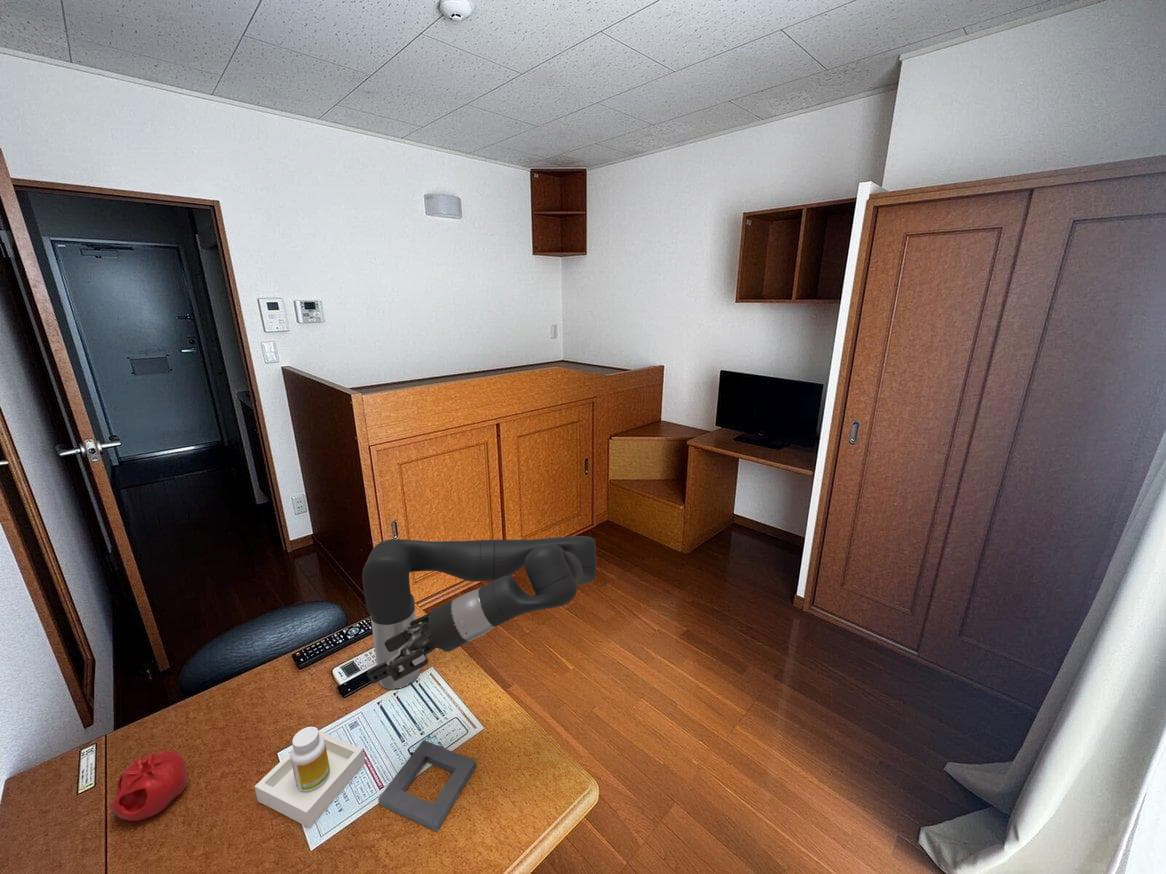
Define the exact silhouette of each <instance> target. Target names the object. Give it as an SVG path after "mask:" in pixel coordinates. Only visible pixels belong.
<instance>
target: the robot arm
mask: <svg viewBox="0 0 1166 874" xmlns="http://www.w3.org/2000/svg"><path fill="white" fill-rule="evenodd" d="M596 546H597V545H596V540H595V539H594V537H591V536H586V535H571V536H559V537H547V538H536V539H535V538H534V539H533V538H532V539H478V540H448V541H447V540H446V541H445V540H444V541H430V540H429V541H428V540H418V539H417V540H416V539H403V538H402V539H401V538H399V539H398V538H393V539H386V540H382V541H380V542H378V543H377V544H376V545H375V546H374V547H373V548H372V549H371V551H370V554H369V556H368V558H367V561H366V562H365V563H364V567H363V569H362V578H361V580H362V586H363V589H362V590H363V594H364V600H365V605H366V609H367V611H368V612H369V613H370V620H371V630H372V637H373V645H374V653H375V654H374V655H375V661H376V666H373V667H372V668H369V669H368V671H367V673H366V676H367V678H368V680H369V681H370V682H371V684H376V683H377V682H378V684H379V685H380V686H381V687H382V688H384V689H387V690H395V689H394V688H400V687H403V686H405V685H407V684H409V683H411V682H412V681H413V680H415V679H416V678H417V679H418V677H419V676H420V673H421V668H423V667H425V666H427V664H428V663H429V659H428V657H427V656H429V655H430V654H431V653H433V651H434V650H436V649H440V650H442V651H443V652H446V653H449V652H452V651H453V650H455V649H457V648H460V647H461V646H464V645H466V644H468V643H469V642H471V641H475V639H477V638H480V637H481V636H483V635H486V634H487V633H488V632H490V631H491V630H493V629H494V628H496V627H498V626H501V625H502V624H504V623H506V622H509V621H510V620H512V619H514V618H517V617H519V616H522V615H525V614H528V613H531V612H537V611H541V610H548V609H554V608H559V607H564V606H565V605H568V604H569V603H570V602H572V600H573V599H574V598H575V596H576V595H577V592H578V586H583V585H587V584H589V583H591V582H593V581H594V580H595V578H596V575H597V547H596ZM523 567H524V570H525V573H526V575H527V577H528V580H529V582H530V584H531V587H532V589H533V591H534V594H535V595H533V594H532V595H531V594H528V593H526V592H525V591H524V590H523V589H522V588H521V586H520V585H519V583H518V582H517V580H516V579H515V578H514V577H513V576H512V575H514V574H515V573H517V572H518V571H519V570H521V569H523ZM415 572H417V573H418V572H439V573H444V574H445V575H446V574H447V575H449V576H453V577H454V578H457V579H460V580H464V581H467V582H474V583H475V582H489V583H487V584H485V585H483V586H480V587H479V588H476V589H474V590H470V591H468V592H465V593H464V594H461V595H460V596H457V597H455V598H453V599H451V600H450V601H447V602H445V603H443V604H442V605H439V606H438V607H435V608H433V609H432V611H430V612H429V613H427V614H424V615H422V616H420V617H418V618H416V605H415V604H416V603H415V596H413V594H412V593H411V587H410V586H411V585H410V584H411V583H410V573H415ZM418 675H419V676H418ZM417 679H416V680H417ZM416 680H415V681H416ZM412 683H413V682H412ZM412 683H411V684H412ZM409 685H410V684H409ZM403 688H404V687H403ZM400 689H401V688H400Z"/></svg>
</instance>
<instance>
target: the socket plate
mask: <svg viewBox="0 0 1166 874" xmlns="http://www.w3.org/2000/svg"><path fill="white" fill-rule="evenodd" d="M426 764H431V765H432V766H435V767H437V768H440V769H442V770H445V771H448V772H450V773H452V774H451V775H450V777H449V779H448V780H447V781H446V784H445V785H444V786H443V788H442V789H441V790H440V792H439V794H438V796H437V798H435V800H434V802H433V803H432V802H430V801H427V800H425V799H422V798H420V797H418V796H417V795H416V796H415V795H413V794H411V793H409V792H406V791H407V789H408V788H409V787H410V785H411V784H412V783H413V781H414V780H415V778H416V777H417V776H418V774H419V773H420V772H421V770H422V769H423V767H424V766H425V765H426ZM476 768H477V760H476V759H473V758H471V757H467V756H465V755H462V754H460V753H457V752H455V751H452V750H450V749H448V748H445V747H442V746H440V745H438V744H435V743H432V742H429V741H428V740H425V739H423V740H422V741H421V742H420V744H418V746H417V747H416V749H415V750H414V751H413V752H412V754H411V755H410V757H409V758H408V759H407V760H406V762H405V763H404V764H403V765H402V767H401V768H400V770H399V771H398V772H397V773H396V775H395V776H394V778H393V779H392V780H391V781H390V782H389V784H388V785H387V787H386V788H385V789H384V790H383V792H382V793H380V796H379V797H378V798H377V799H378V800H377V801H378V806H381V807H383V808H385V809H387V810H389V811H391V812H394V813H395V814H398V815H400V816H402V817H404V818H406V819H409V820H410V821H413V822H415V823H416V824H419V825H421V826H423V827H425V828H427V829H430V830H432V831H434V832H438V830H439V828H440V827H441V825H442V824H443V822H444V820H445V819H446V818H447V816H448V814H449V813H450V811H451V809H452V808H453V806H454V804H455V802H456V801H457V799H458V798H459V796H460V794H461V793H462V791H463V789H465V786H466V785H467V783H468V781H469V779H470V778H471V776H472V775H473V773H474V771H475V769H476Z"/></svg>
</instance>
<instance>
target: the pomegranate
mask: <svg viewBox="0 0 1166 874" xmlns="http://www.w3.org/2000/svg"><path fill="white" fill-rule="evenodd" d="M159 749H161V747H159V748H157V749H155V750H154V751H153V752H152V753H151V754H150V755H149V756H144V757H142V759H140V758H133V760H135V761H134V762H132V763H131V764H130V765H128V767H127V768H125V770H124V771H122V773H121V774H119V775H117V776H115V778H118V777H119V778H118V780H117V782H116V792H115V793H116V794H115V795H116V796H115V799H113V800H112V802H111V803H110V805H109V808H110V810H111V812H112V813H114V814H115V815H117V817H118V818H120V819H121V820H125V821H132V822H133V821H134V822H135V821H143V820H145V819H148V818H151V817H153V816H155V815H157V814H159V813H161V812H162V811H164V810H165V809H167V807H168V806H169V805H170V803H171V802H172V801H173V800H174V799H176V798H177V797H178V796H180V794H182V793H183V791H184V790H185V788H186V786H187V784H188V775H187V774H188V773H187V764H186V760H185V758H184V757H183V756H182V755H181V753H178V751H175V750H172V749H171V750H166V751H163V752H160V753H157V752H158V751H159Z"/></svg>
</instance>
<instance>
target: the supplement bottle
mask: <svg viewBox="0 0 1166 874" xmlns="http://www.w3.org/2000/svg"><path fill="white" fill-rule="evenodd" d="M318 731H319V729H318V728H317V727H314V726H307V727H304V728H301V730H299V731H297V732H296V734H295V735H294V736H293V738H292V741H291V742H292V749H291V751H290V752H291V754H290V757H291V763H292V768H293V773H294V778H295V782H296V786H297V788H298V789H299V790H300V791H304V792H307V791H312V790H314V789H316V788H318V787H320V786H321V785H322V784H323V783H324V782H325V781H326V779H327V778H328V776H329V773H330V766H329V761H328V755H327V750H326V744H325V740H324V738H323V737H322V736H321V735H319V732H318Z"/></svg>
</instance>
